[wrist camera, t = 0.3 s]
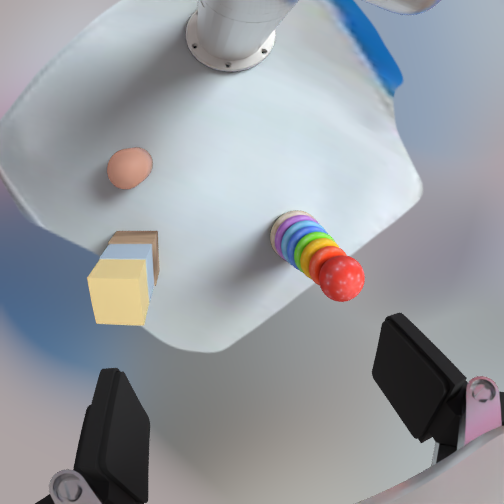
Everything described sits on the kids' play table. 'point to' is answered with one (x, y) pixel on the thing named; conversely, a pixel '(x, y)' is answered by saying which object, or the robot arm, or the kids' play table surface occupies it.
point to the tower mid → (133, 253)
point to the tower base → (140, 238)
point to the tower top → (119, 291)
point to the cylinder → (129, 167)
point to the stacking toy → (316, 255)
